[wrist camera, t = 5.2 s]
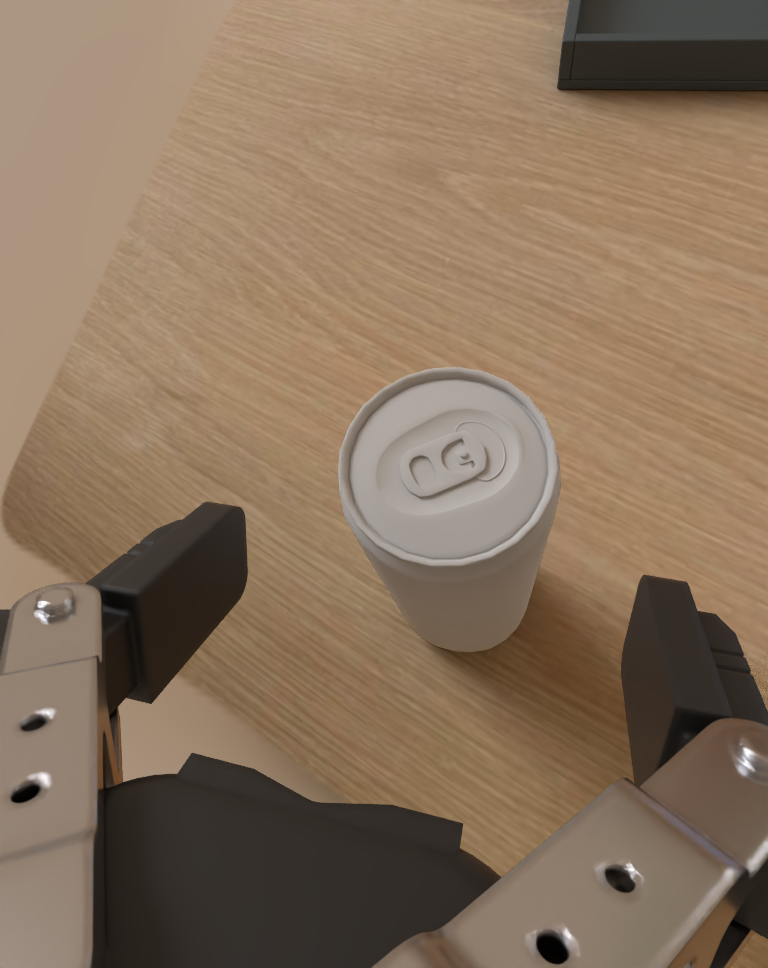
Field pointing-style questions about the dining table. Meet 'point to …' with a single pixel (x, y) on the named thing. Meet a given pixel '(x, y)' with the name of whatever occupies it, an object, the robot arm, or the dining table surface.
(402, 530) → the beverage can
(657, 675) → the robot arm
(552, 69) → the dining table surface
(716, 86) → the serving tray
